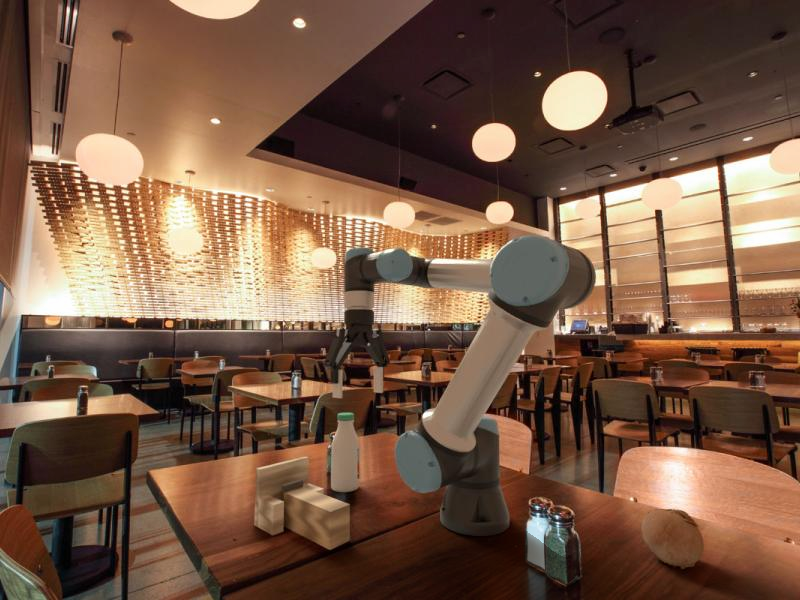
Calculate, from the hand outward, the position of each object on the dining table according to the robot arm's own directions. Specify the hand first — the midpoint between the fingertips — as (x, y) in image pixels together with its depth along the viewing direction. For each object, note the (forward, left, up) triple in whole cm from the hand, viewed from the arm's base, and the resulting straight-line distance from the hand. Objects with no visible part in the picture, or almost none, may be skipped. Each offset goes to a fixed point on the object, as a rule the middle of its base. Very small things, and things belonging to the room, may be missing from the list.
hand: (358, 395), depth 103 cm
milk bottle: (+13, -7, -27) cm, 31 cm away
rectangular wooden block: (-3, +15, -27) cm, 31 cm away
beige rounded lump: (-61, -21, -27) cm, 70 cm away
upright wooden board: (+6, +15, -27) cm, 31 cm away
